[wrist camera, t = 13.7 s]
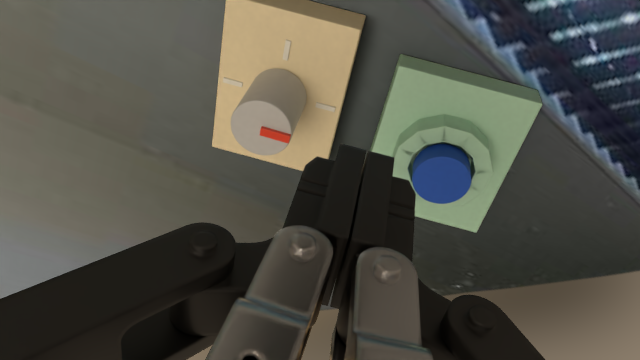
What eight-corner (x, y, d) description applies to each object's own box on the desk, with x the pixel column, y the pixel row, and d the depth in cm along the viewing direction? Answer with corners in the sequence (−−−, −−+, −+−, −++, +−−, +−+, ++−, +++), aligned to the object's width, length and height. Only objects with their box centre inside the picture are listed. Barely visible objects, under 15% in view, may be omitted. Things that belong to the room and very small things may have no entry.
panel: (239, -19, 37) (225, -5, 34) (366, 15, 36) (361, 31, 34) (223, 127, 44) (211, 147, 41) (329, 156, 44) (323, 178, 41)
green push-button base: (400, 53, 38) (397, 76, 34) (538, 89, 37) (548, 116, 34) (359, 184, 45) (353, 214, 42) (474, 216, 45) (477, 248, 41)
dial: (247, 110, 39) (225, 148, 35) (256, 60, 36) (232, 94, 32) (300, 125, 39) (284, 165, 35) (312, 77, 36) (296, 113, 32)
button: (422, 136, 37) (422, 150, 36) (478, 152, 37) (480, 165, 36) (405, 181, 39) (404, 195, 38) (458, 195, 39) (459, 210, 38)
